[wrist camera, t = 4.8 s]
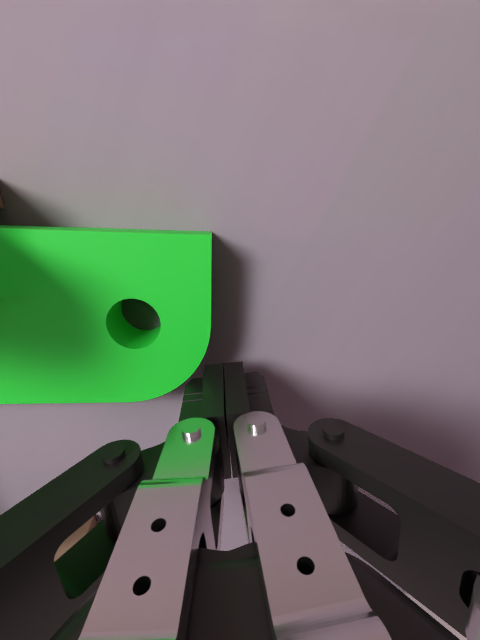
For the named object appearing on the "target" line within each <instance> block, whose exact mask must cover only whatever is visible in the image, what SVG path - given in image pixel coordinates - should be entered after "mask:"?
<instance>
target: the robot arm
mask: <svg viewBox="0 0 480 640" xmlns="http://www.w3.org/2000/svg"><path fill="white" fill-rule="evenodd" d="M224 366H225V374H224ZM224 366H223V363H222V364H212V365H205V369H204V378H195V379H192V380H191V381H190V382H189V383H188V384H187V385H186V387H185V392H184V397H183V402H182V408H181V413H180V418H179V422H178V423H177V424H175V425H174V426H173V427H172V428H171V429H170V431H169V433H168V435H167V438H166V441H165V442H163V443H161V444H159V445H157V446H154V447H151V448H148V449H145V450H142V451H141V449H140V446H139V445H138V444H137V443H136V442H134V441H132V440H118V441H114V442H111V443H108V444H106V445H104V446H102V447H101V448H99V449H98V450H96V451H95V452H93V453H92V454H90V455H89V456H87V457H86V458H84V459H83V460H81V461H80V462H78V463H77V464H75V465H74V466H73V467H71V468H70V469H68V470H67V471H65V472H64V473H62V474H61V475H59V476H58V477H56V478H55V479H53V480H52V481H50V482H49V483H47V484H46V485H44V486H43V487H42V488H40V489H39V490H37V491H36V492H34V493H33V494H31V495H30V496H28V497H27V498H25V499H24V500H22V501H21V502H19V503H18V504H16V505H15V506H13V507H12V508H11V509H9V510H8V511H6V512H5V513H3V514H2V515H0V640H459V639H458V638H457V637H456V636H455V635H453V634H452V633H451V632H450V631H449V630H447V629H446V628H445V627H444V626H443V625H441V624H440V623H439V622H438V621H436V620H435V619H434V618H433V617H431V616H430V615H429V614H428V613H427V612H425V611H424V610H423V609H422V608H421V607H419V606H418V605H417V604H416V603H414V602H413V601H412V600H411V599H410V598H408V597H407V596H406V595H405V594H404V593H402V592H401V591H400V590H399V589H397V588H396V587H395V586H394V585H393V584H391V583H390V582H389V581H388V580H386V579H385V578H384V577H383V576H382V575H380V574H379V573H378V572H377V571H375V570H374V569H373V568H372V567H370V566H369V565H367V564H366V563H364V562H363V561H361V560H360V559H358V558H356V557H354V556H352V555H350V554H348V553H346V552H344V550H343V548H342V545H341V543H340V541H341V542H342V543H344V544H345V545H346V546H348V547H349V548H350V549H352V550H353V551H354V552H355V553H357V554H358V555H359V556H361V557H362V558H363V559H364V560H366V561H367V562H368V563H370V564H371V565H372V566H374V567H375V568H376V569H377V570H379V571H380V572H381V573H383V574H384V575H385V576H387V577H388V578H389V579H390V580H392V581H393V582H394V583H396V584H397V585H398V586H400V587H401V588H402V589H403V590H405V591H406V592H407V593H409V594H410V595H411V596H413V597H414V598H415V599H416V600H418V601H419V602H421V603H422V604H423V605H424V606H426V607H427V608H428V609H429V610H431V611H432V612H434V613H435V614H436V615H437V616H438V617H440V618H441V619H443V620H444V621H445V622H447V623H448V624H449V625H450V626H452V627H453V628H454V629H455V630H457V631H458V632H459V633H461V634H462V635H463V636H464V637H466V638H467V640H480V483H478V482H476V481H473V480H471V479H469V478H467V477H465V476H463V475H460V474H458V473H456V472H454V471H452V470H450V469H447V468H445V467H443V466H441V465H439V464H437V463H434V462H432V461H430V460H428V459H426V458H424V457H421V456H419V455H417V454H415V453H413V452H411V451H408V450H406V449H404V448H402V447H400V446H398V445H395V444H393V443H391V442H389V441H387V440H385V439H382V438H380V437H378V436H376V435H374V434H372V433H369V432H367V431H365V430H363V429H361V428H359V427H356V426H354V425H352V424H350V423H348V422H345V421H343V420H339V419H331V418H329V419H321V420H318V421H316V422H314V423H313V424H311V425H310V427H309V429H308V432H305V431H297V430H292V429H289V428H286V427H284V426H282V425H281V424H280V422H279V420H278V419H277V417H275V416H274V413H273V409H272V406H271V402H270V398H269V395H268V391H267V387H266V384H265V380H264V378H263V377H262V376H261V375H260V374H259V373H257V372H253V373H244V368H243V362H242V361H241V362H231V363H224ZM230 454H231V462H230ZM231 463H232V472H233V478H235V477H239V486H240V496H241V503H242V509H243V515H244V521H245V528H246V534H247V540H248V544H246V545H244V546H241V547H238V548H236V549H233V550H230V551H220V548H221V534H222V521H223V507H224V498H223V492H224V479H228V478H231ZM358 486H359V487H361V488H362V489H364V490H366V491H367V492H369V493H371V494H372V495H374V496H375V497H377V498H379V499H380V500H382V501H384V502H385V503H387V504H388V505H390V506H391V507H392V508H393V509H394V510H395V512H396V513H397V514H398V515H396V514H395V513H393V512H392V511H390V510H388V509H387V508H385V507H383V506H382V505H380V504H379V503H377V502H375V501H374V500H372V499H370V498H369V497H367V496H366V495H364V494H362V493H361V492H359V491H358ZM99 511H100V512H101V515H102V519H103V520H102V521H101V522H99V523H98V524H97V525H96V526H95V527H94V528H93V529H91V530H90V531H89V532H88V533H87V534H86V535H85V536H83V537H82V538H81V539H80V540H79V541H78V542H77V543H75V544H74V545H73V546H72V547H71V548H70V549H69V550H67V551H66V552H65V553H64V554H63V555H62V556H61V557H59V558H58V559H57V560H56V561H55V562H54V557H55V554H56V552H57V550H58V548H59V547H60V545H61V544H62V543H63V542H64V541H65V540H66V539H67V538H68V537H69V536H70V535H72V534H73V533H74V532H75V531H76V530H77V529H79V528H80V527H81V526H82V525H83V524H85V523H86V522H87V521H88V520H89V519H91V518H92V517H93V516H94V515H95V514H96V513H98V512H99ZM339 540H340V541H339Z"/></svg>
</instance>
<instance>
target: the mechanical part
mask: <svg viewBox="0 0 480 640" xmlns="http://www.w3.org/2000/svg"><path fill="white" fill-rule="evenodd" d="M211 270H212V232H205V231H174V230H142V229H111V228H79V227H48V226H17V225H0V404H33V403H107V402H138V401H145V400H149V399H153V398H156V397H159V396H162V395H164V394H166V393H168V392H170V391H172V390H174V389H175V388H177V387H178V386H180V385H181V384H182V383H184V382H185V381H186V380H187V379H188V378H189V377H190V376H191V375H192V374H193V373H194V371H195V370H196V369H197V367H198V366H199V364H200V363H201V361H202V359H203V357H204V355H205V352H206V350H207V347H208V343H209V339H210V332H211ZM124 299H139V300H142V301H144V302H146V303H148V304H149V305H151V306H152V307H153V308H154V309H155V311H156V312H157V314H158V316H159V318H160V323H161V325H160V326H159V327H157V328H155V329H151V330H141V329H138V328H135V327H133V326H132V325H130V324H129V323H128V322H127V321H126V319H125V318H124V316H123V314H122V309H121V304H122V300H124Z"/></svg>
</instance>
